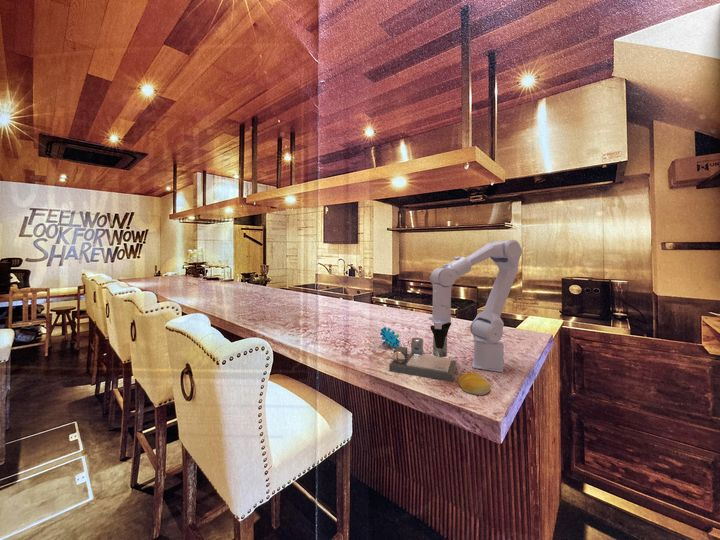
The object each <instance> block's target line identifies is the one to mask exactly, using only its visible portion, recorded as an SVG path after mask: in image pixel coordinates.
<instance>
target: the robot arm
mask: <svg viewBox="0 0 720 540" xmlns="http://www.w3.org/2000/svg"><path fill="white" fill-rule="evenodd" d="M522 253H523V249H522V246H521V244H520V243H519V242H518V241H517V240H515V239H510V240H509V239H508V240H498V241H497V240H492V241H490V242H488V243H485V244H484V246H482V247H481V248H479V249H477V250H476V251H474V252H473V253H471V254H469V255H468V256H466V257H464V256H456V257H453V258H454V260H452V261H450V262H448V263H444V264H442V267H437V268H435V269H433V270H432V272H431V274H430V276H429V281H430V283H431V285H432V313H431V314H432V316H428V320H429V321H432V323H433V325H430V331H431V332H432V334H433V336H434V339H435V345H436V348H440V349H443V347H444V342H445V337H447V338H448V332H449V330H450V328H451V326H452V319H451V317H452V314H451V312H452V310H451V309H452V286H453V285H454V284H455V282H456V280H458V279H460V278H461V277H463V276H465V275H467V274H468V273H470V272H471V270H472V266H474V265H477V264H479V263H481V262H482V261H485V260H487V259H489V258H490V259H491V261H492V262H493V263H494V264H495V265H496V266H497V268H498V273H497V275H496V277H495V279H494V280H495V281H494V282H493V286H492V288H491V290H490V292H489V295H488V298H487V300H486V303H485V306H484V308H483V310H482V311H480V312H479V313H477V314H476V317H475V318H474V319H473V320H472V321H471V322H470V324H469V325H470V326H469V331H470V333H471V335H472V337H473V341H474V342H473V343H474V344H473V359H472V365H471V368H472V369H478V370H486V371H493V372H500V373H504V365H505V358H504V342H501V339H502V338H503V335H504V331H503V329H504V325H505V323H504V321H503V319H502V318H501V316H502V312H503V310H504V308H505V305H506V302H507V299H508V297H509V294H510V291H511V289H512V286H513V284H514V281H515V279H516V277H517V274H518V271H519V264H520V263H519V262H520V259H521V256H522Z"/></svg>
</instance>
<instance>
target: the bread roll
mask: <svg viewBox="0 0 720 540" xmlns="http://www.w3.org/2000/svg"><path fill="white" fill-rule="evenodd" d="M458 384H459V386H460V388H461V389H462V391H464V392H466V393H469V394H472V395H476V396H477V395H478V396H479V395H480V396H482V395H487V394H489V393H490V391H491V385H490V384H491V383H489V381H487V380H486V379H485V377H484V376H482V375H481V374H479V373H477V372H471V371H469V372H465V373H463V374H461V375H460V376H459V377H458Z"/></svg>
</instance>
